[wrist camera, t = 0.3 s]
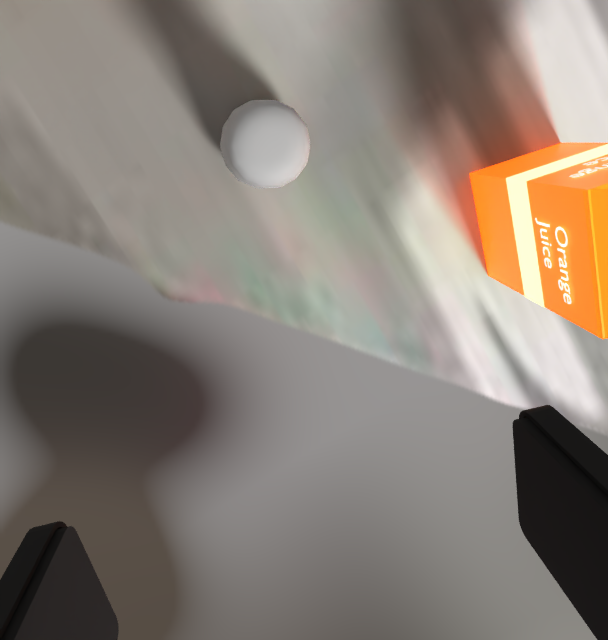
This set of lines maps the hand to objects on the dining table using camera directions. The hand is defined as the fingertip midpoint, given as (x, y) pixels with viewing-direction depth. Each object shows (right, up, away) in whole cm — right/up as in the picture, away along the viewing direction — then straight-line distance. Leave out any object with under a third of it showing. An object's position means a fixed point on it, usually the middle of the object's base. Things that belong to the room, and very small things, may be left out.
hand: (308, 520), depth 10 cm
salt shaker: (-3, +17, +26) cm, 32 cm away
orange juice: (+18, +13, +30) cm, 37 cm away
